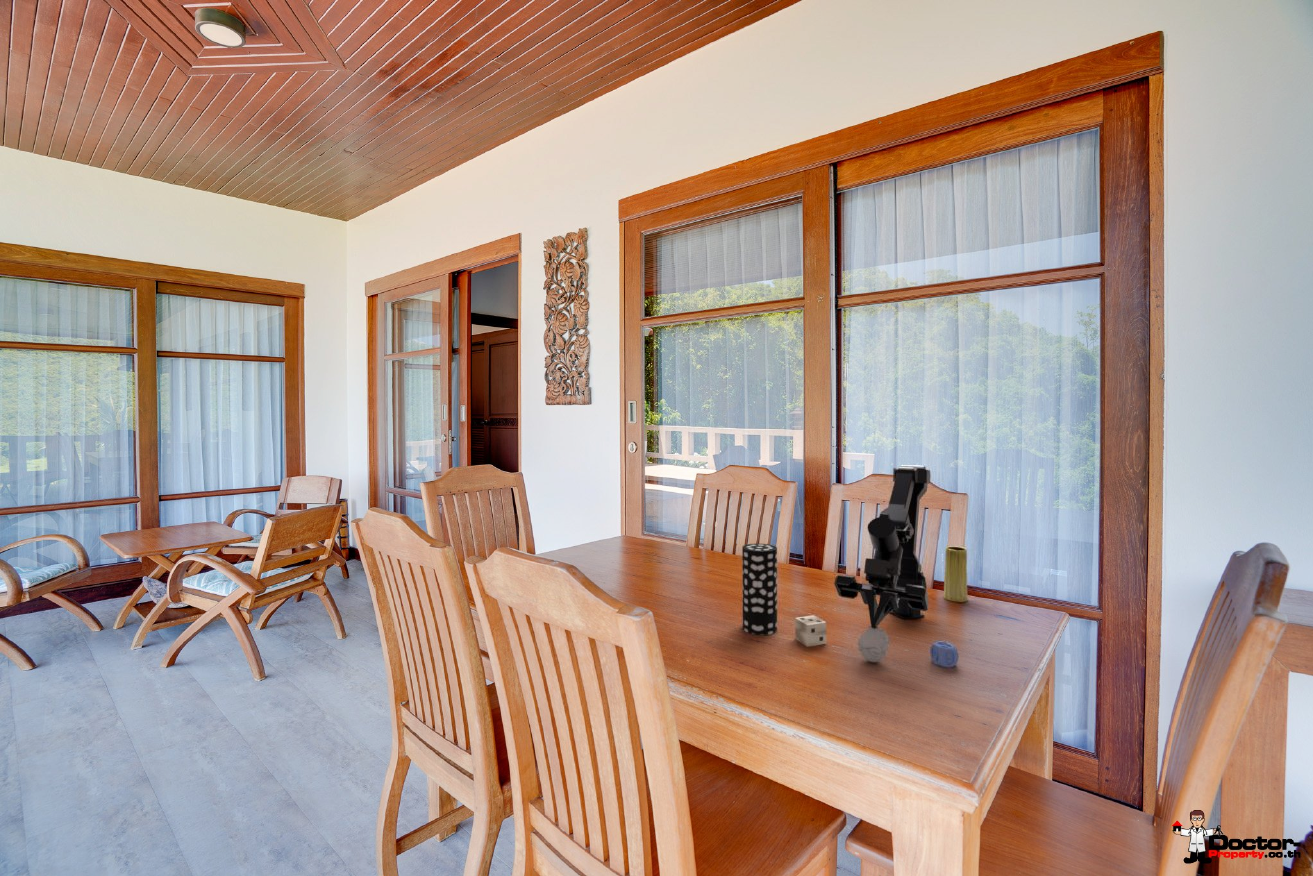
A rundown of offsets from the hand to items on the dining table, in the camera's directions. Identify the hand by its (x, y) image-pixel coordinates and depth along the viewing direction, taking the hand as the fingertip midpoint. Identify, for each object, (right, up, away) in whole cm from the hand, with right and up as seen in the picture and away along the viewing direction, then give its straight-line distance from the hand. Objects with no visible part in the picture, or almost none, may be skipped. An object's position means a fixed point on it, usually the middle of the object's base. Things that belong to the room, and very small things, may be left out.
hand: (873, 627), depth 123 cm
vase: (+38, -5, +41) cm, 56 cm away
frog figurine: (0, -7, +1) cm, 8 cm away
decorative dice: (+15, -8, -1) cm, 16 cm away
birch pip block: (-10, -7, +12) cm, 17 cm away
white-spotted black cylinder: (-20, -7, +20) cm, 29 cm away
